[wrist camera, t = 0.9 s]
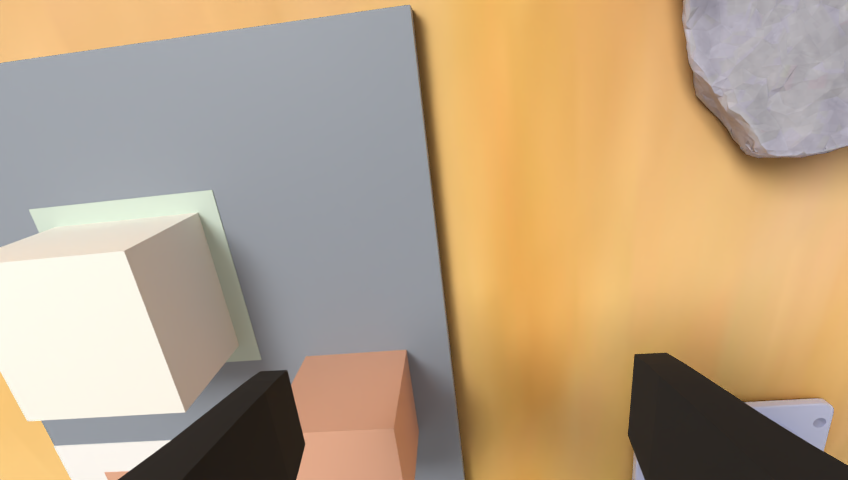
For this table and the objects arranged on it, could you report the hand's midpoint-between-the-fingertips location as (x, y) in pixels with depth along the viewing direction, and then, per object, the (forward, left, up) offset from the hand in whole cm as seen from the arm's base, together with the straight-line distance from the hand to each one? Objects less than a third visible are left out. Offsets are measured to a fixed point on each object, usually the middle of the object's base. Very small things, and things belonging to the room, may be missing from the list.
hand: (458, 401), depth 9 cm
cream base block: (0, +13, -8) cm, 15 cm away
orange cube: (-6, +5, -8) cm, 11 cm away
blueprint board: (-3, +11, -9) cm, 14 cm away
